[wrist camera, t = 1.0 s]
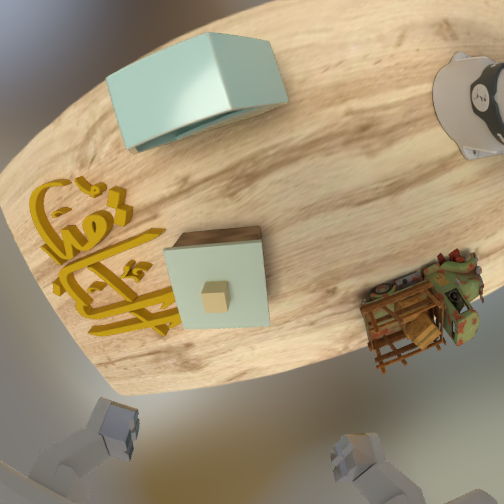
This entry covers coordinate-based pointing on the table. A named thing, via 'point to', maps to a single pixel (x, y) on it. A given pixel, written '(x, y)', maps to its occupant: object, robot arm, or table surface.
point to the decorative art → (95, 231)
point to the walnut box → (219, 236)
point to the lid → (219, 284)
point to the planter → (194, 89)
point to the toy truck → (424, 308)
